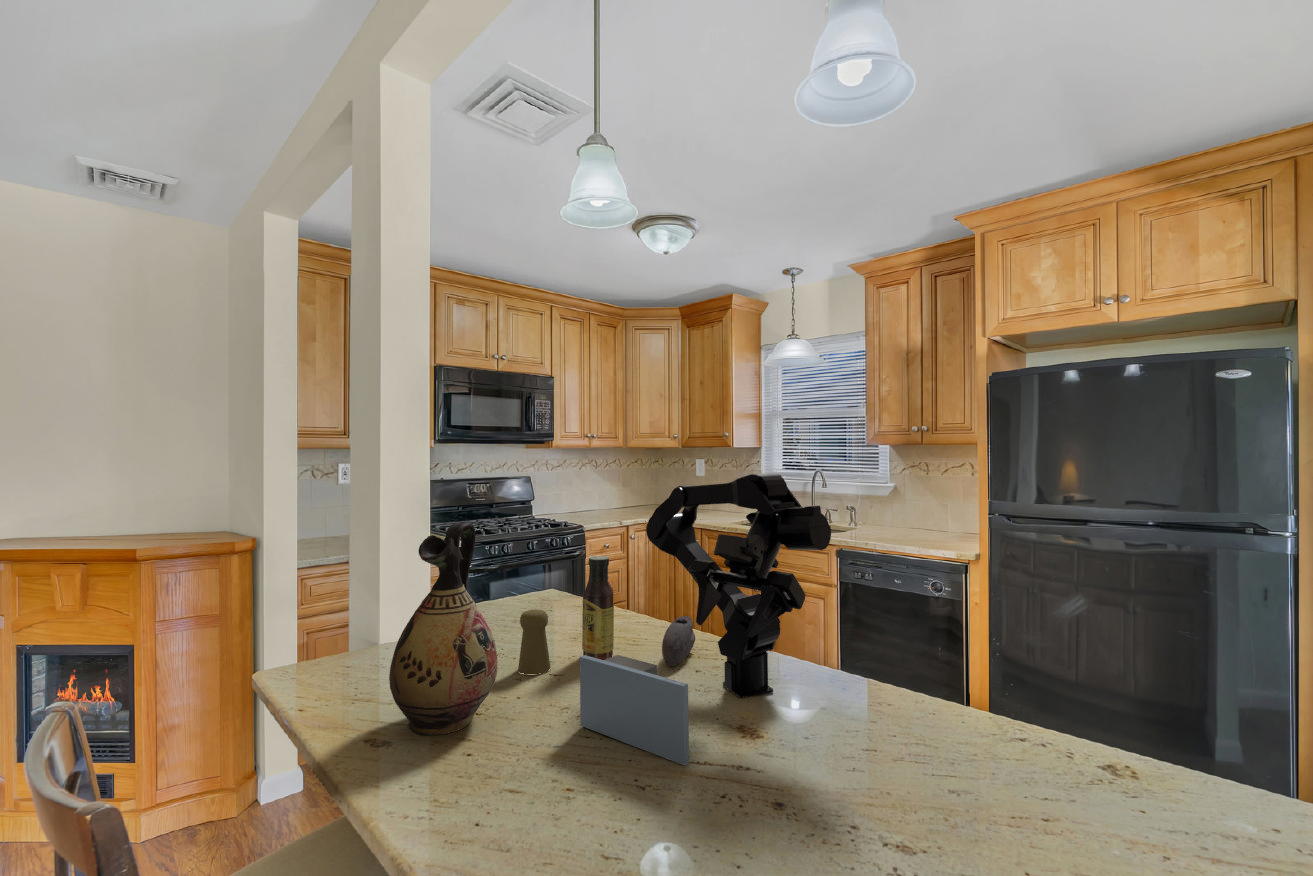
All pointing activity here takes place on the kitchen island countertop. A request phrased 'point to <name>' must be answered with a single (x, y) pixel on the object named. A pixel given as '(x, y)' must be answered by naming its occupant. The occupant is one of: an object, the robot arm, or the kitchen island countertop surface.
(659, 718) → the side door
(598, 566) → the sauce bottle
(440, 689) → the ceramic jug
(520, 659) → the cork
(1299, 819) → the kitchen island countertop surface
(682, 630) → the perforated stone tool
